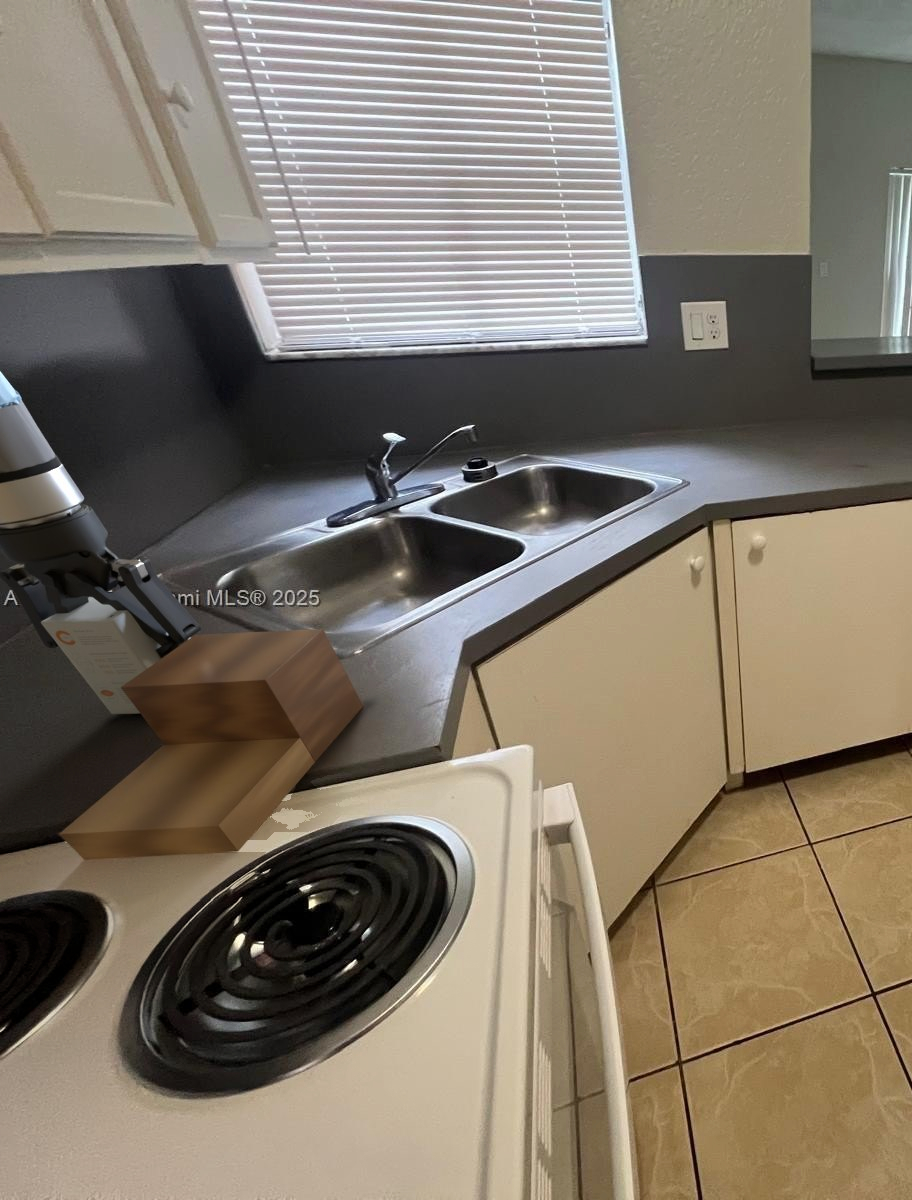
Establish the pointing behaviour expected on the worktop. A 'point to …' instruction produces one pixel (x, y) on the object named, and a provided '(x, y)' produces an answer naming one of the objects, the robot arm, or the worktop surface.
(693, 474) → the worktop surface
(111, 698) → the small box
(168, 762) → the shelf stand
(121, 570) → the robot arm
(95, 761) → the worktop surface
